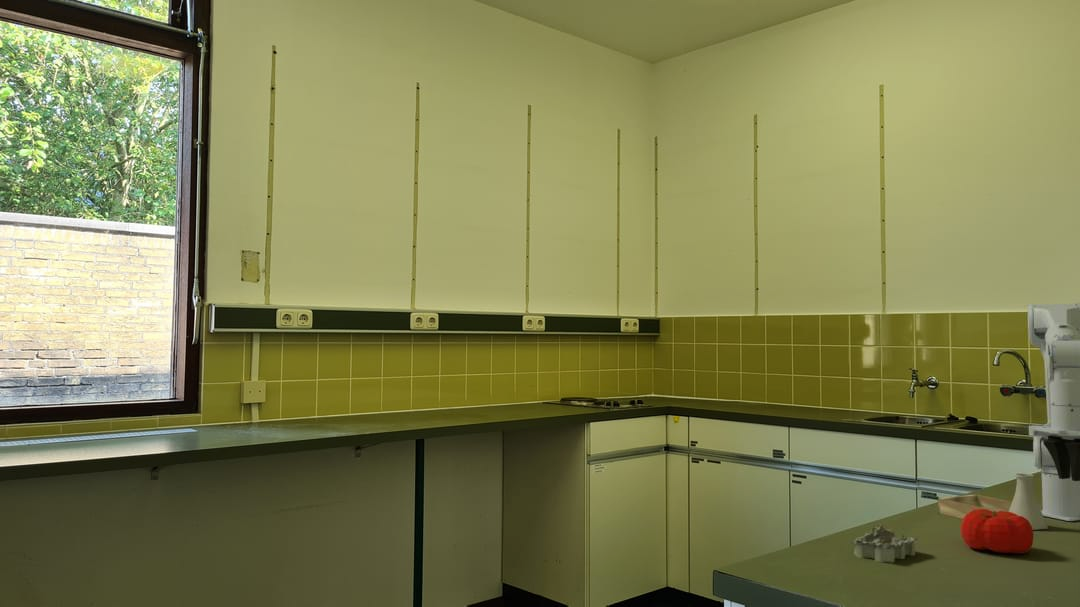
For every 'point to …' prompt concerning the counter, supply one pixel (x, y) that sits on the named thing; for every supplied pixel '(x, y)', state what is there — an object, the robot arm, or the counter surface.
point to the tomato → (997, 531)
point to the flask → (1027, 502)
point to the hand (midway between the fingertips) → (1071, 479)
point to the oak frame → (970, 505)
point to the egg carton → (883, 545)
